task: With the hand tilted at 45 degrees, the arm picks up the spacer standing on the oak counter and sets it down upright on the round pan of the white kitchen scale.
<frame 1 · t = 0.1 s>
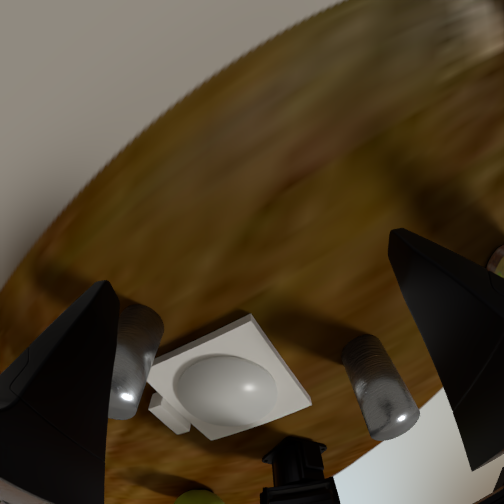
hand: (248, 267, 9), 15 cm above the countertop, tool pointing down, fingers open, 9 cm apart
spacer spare: (361, 352, 30), on the countertop
scale: (227, 384, 31), on the countertop
sauce bottle: (499, 267, 27), on the countertop
spacer: (141, 324, 28), on the countertop
fruit: (202, 492, 41), on the countertop
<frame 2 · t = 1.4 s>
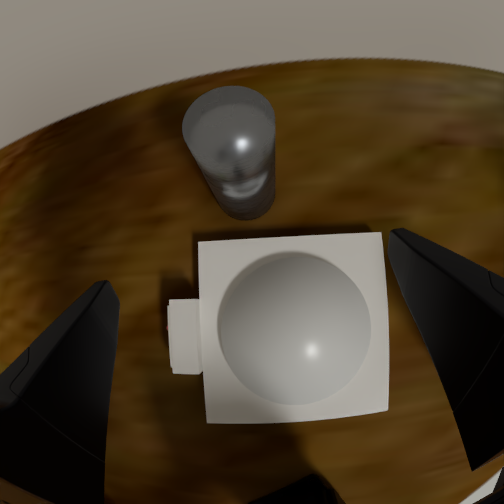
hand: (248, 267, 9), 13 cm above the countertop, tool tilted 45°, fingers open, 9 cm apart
scale: (295, 330, 22), on the countertop
spacer: (246, 192, 24), on the countertop
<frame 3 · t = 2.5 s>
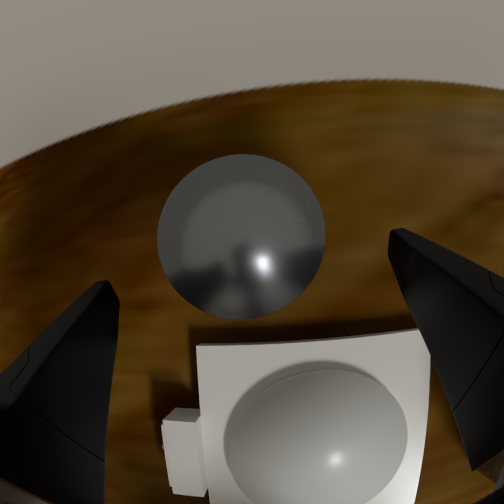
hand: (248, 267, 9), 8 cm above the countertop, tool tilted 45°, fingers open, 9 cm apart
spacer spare: (492, 444, 14), on the countertop
scale: (318, 443, 16), on the countertop
spacer: (258, 273, 18), on the countertop
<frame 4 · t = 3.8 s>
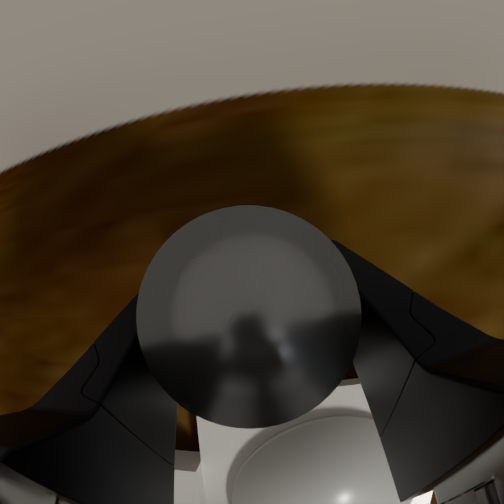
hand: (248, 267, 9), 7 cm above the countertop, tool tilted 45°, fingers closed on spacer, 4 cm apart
scale: (325, 484, 14), on the countertop
spacer: (263, 310, 16), on the countertop, touching gripper
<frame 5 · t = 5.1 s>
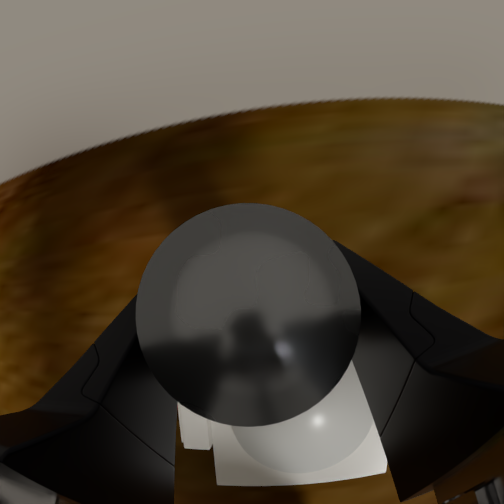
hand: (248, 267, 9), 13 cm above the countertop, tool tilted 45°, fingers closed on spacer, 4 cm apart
scale: (302, 405, 21), on the countertop
spacer: (263, 309, 16), point 6 cm above the countertop, touching gripper
when the fingers open (9 cm above the countertop, at t = 6.7 s): spacer stays where it is, resting on scale.
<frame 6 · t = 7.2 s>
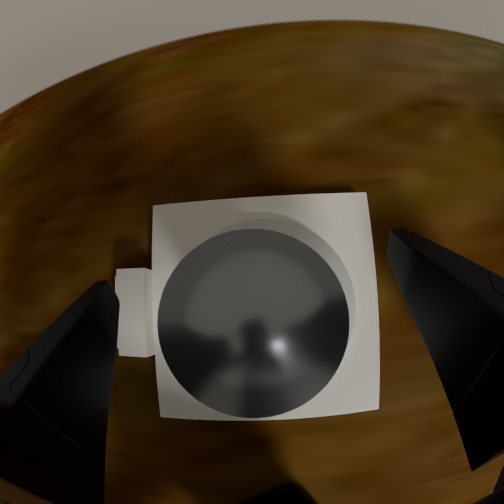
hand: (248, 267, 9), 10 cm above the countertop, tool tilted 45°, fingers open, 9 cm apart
scale: (264, 309, 19), on the countertop
spacer: (264, 312, 17), point 2 cm above the countertop, touching scale
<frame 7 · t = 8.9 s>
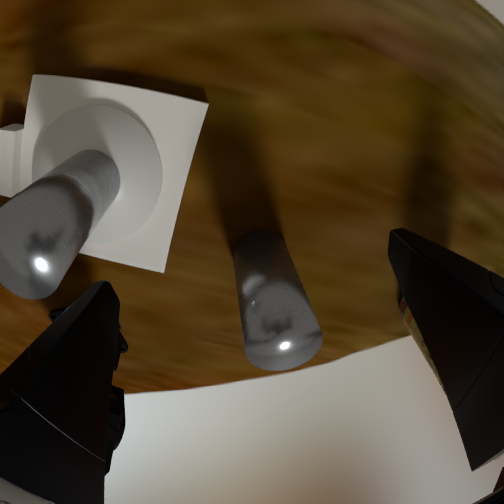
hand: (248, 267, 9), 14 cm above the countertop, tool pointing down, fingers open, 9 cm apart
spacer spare: (260, 254, 26), on the countertop
scale: (99, 171, 21), on the countertop
sauce bottle: (418, 296, 31), on the countertop
spacer: (90, 180, 19), point 2 cm above the countertop, touching scale
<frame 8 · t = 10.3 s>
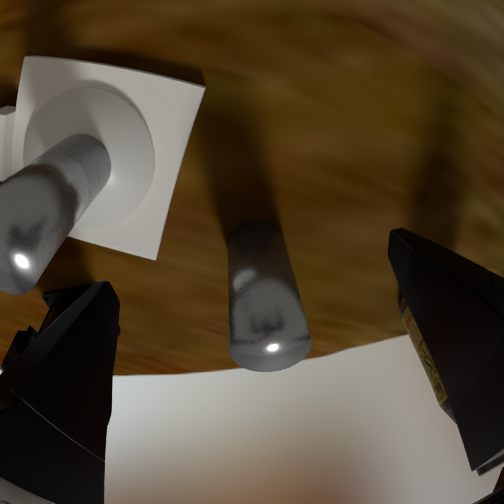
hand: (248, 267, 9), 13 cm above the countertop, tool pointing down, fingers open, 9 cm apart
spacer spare: (256, 245, 25), on the countertop
scale: (91, 154, 19), on the countertop
sauce bottle: (420, 296, 30), on the countertop
spacer: (81, 165, 18), point 2 cm above the countertop, touching scale
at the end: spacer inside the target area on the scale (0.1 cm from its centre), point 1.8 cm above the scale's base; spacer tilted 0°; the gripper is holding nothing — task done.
